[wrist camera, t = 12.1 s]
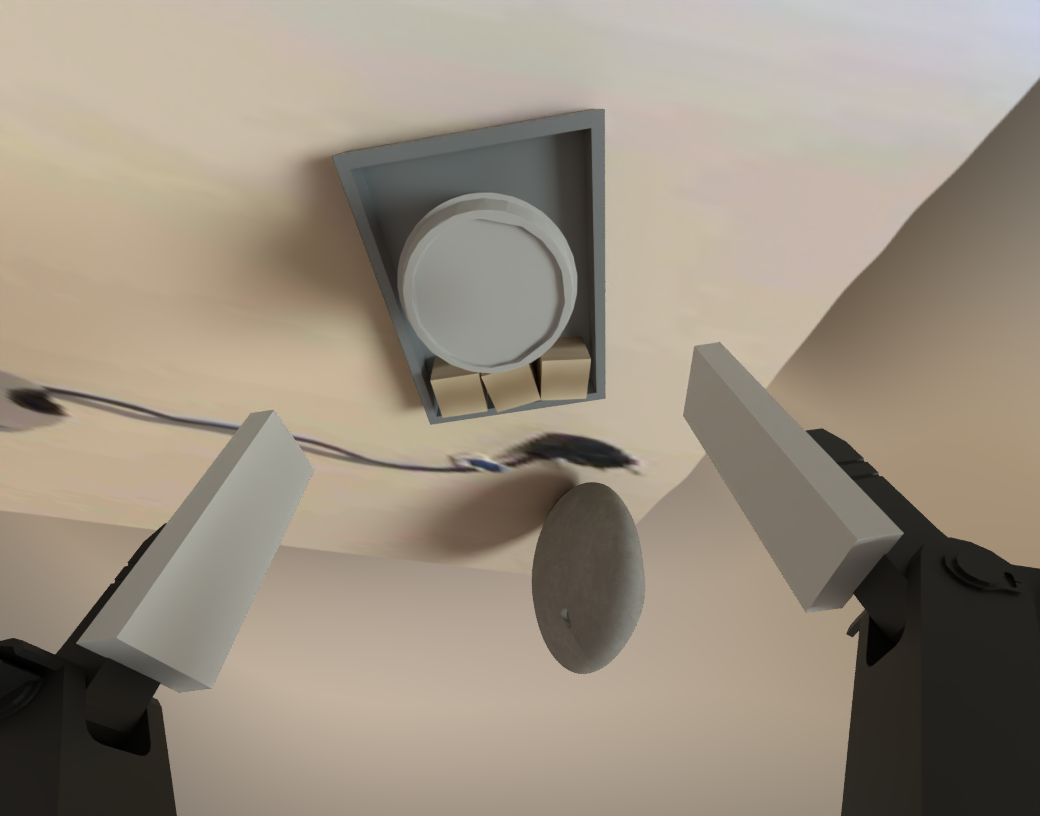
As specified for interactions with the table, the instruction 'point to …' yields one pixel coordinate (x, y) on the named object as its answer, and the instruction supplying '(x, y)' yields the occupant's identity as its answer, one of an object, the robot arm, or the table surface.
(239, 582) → the robot arm
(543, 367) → the block
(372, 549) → the table surface
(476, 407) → the block
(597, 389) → the tray
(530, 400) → the block
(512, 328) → the disposable coffee cup
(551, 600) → the dark grey disc
